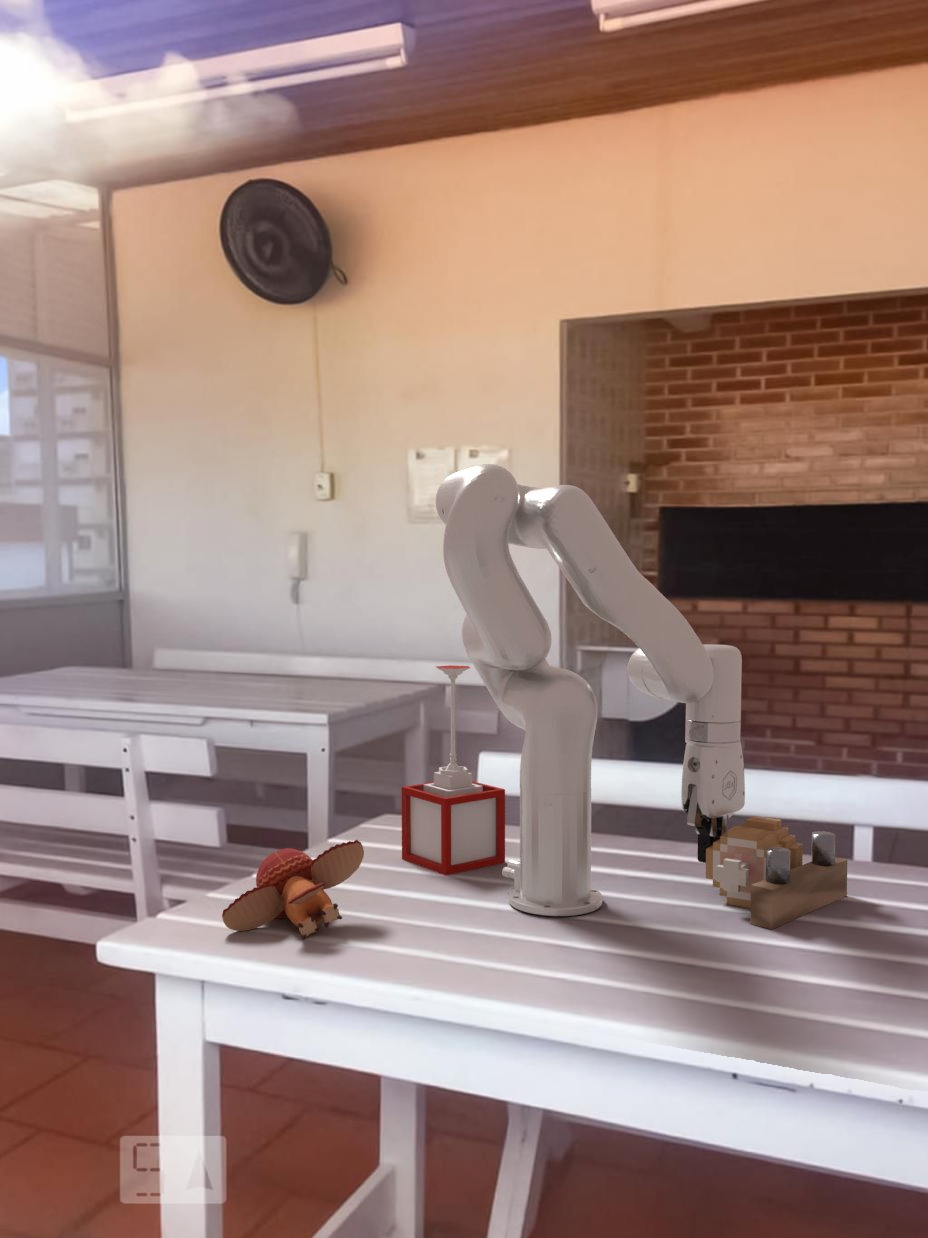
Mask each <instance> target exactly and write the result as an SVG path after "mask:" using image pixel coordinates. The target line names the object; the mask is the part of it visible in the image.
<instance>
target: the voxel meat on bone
mask: <svg viewBox="0 0 928 1238" xmlns="http://www.w3.org/2000/svg"><path fill="white" fill-rule="evenodd" d="M721 835H722V836H720V839H719V840H717V841H715V842H714V843H713V845H712V846H711V847H709V848H707V849H706V863H705V879H709V880H712V887H713V888H719V895H720V896H721V897H722V896H723V897H726V904H727V905H731V906H737V907H743V908H748V909H751V885H752V884H755V883H757V882H760V881H762V880H765V879H766V848H769V847H782V848H787V849H789V850H790V870H791V869H793V868H796V867H799V866H801V865H803V858H804V857H803V853H804V851H803V849H804V847H803V845H804V844H803V843H798V842H796V835H792V834H789V827H784V826H782V819H777V818H772V817H771V818H770V817H766V816H765V817H763V816H755V815H753V816H750V817H749V818H747V819H745V822H744V823H742V824H740V825H735V826H733V827H731V828H729V829H727V832H725V834H724V835H723V834H721Z"/></svg>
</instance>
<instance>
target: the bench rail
mask: <svg viewBox="0 0 928 1238" xmlns="http://www.w3.org/2000/svg"><path fill="white" fill-rule="evenodd" d="M847 896H848V859H846V858H841V857H837V856H836V833H834V832H831V831H825V830H824V831H823V830H818V831H812V832H811V861H809V862H806V863H804V864H802V865H801V866H799V867H796V868H793V869H791V870H790V850H789V849H787V848H782V847H769V848H766V879H765V880H762V881H760V882H757V883H755V884H752V885H751V908H750V921H749V922H750V925H753V926H757V927H761V928H764V929H768V930H774V929H776V928H779V927H780V926H783V925H785V924H787V923H789V922H792V921H794V920H796V919H798V918H801V917H803V916H805V915H807V914H810V913H812V912H813V911H816V910H819V909H821V908H822V907H824V906H825V907H826V906H827V905H829V904H832V903H834V902H836V901H838V900H840V899H842V898H844V897H847Z"/></svg>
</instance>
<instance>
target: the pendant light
mask: <svg viewBox="0 0 928 1238" xmlns="http://www.w3.org/2000/svg"><path fill="white" fill-rule="evenodd" d="M435 668H436V669H437V670H440V671H442V672H443V674H444V675H446V676H448V679H450V753H449V756H450V757H449V762H450V763H448V764H447V766H441V767H438V771H435V772H433V781H432V782H425V783H418V784H411V785H405V786H401V860H404V861H406V862H408V863H412V864H414V865H416V866H420V867H422V868H424V869H427V870H429V871H431V872H435V873H438V874H440V875H444V876H450V875H454V874H458V873H462V872H467V871H472V870H476V869H477V870H479V869H481V868H487V867H490V866H496V865H501V864H504V863H506V789H505V788H501V787H497V786H494V785H489V784H485V783H481V782H478V781H473V773H472V772H468V768H467V767H466V766H462V765H461V766H459V765H458V763H457V760H458V759H457V758H456V757H457V756H458V755H457V753H456V679H458V676H460V675H462V674H463V673H464V672H465V671H468V670H469V669H471V667H470V666H469V665H451V664H450V665H440V666H439V665H438V666H435Z"/></svg>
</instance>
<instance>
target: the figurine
mask: <svg viewBox="0 0 928 1238" xmlns="http://www.w3.org/2000/svg"><path fill="white" fill-rule="evenodd" d="M364 857H365V849H364V846H363V844H362V842H360V840H358V839H356V840H354V841H350V840H349V841H348V842H341V844H337V843H336V845H334V846H330V847H329V848H328V849H326V850H324V851H322V853H321V854H319V855H317V857H316V858H314V859H312V858H311V856H309V855H308V854H306V853H305V852H304V851H302V850H299V849H296V848H290V847H287V848H282V849H278V850H276V851H274V852H272V853H270V854H269V855H268V856H266V857H265V858H264V859H263V860H262V862H261V864H260V865H259V867H258V868H257V869H258V870H257V873H256V876H255V882H256V883H255V885H256V887H253V888H252V889H251V890H247V891H245V892H244V893H241V895H239V897H237V898H235V899H234V900H233V902H232V903H229V905H228V906H227V908H225V909H223V911H222V915H221V917H222V922H223V924H224V925H225V927H227V928H228V929H229V930H232V931H238V932H243V931H250V930H254V929H257V928H259V927H262V926H265V925H267V924H268V923H270V922H272V920H275V918H276V919H286V918H288V920H290V922H291V923H292V924H293V925H294V926H295V927H297V928H298V930H299V933H300V934H301V938H302V940H306V938H307V937H308V936H310V935H311V934H313V933H315V932H316V933H319V932H320V931H321V929H320V928H318V926H317V925H318V924H319V923H320V922H321V921H323V923H324V926H325V927H326V928H328V927H329V925H330V924H332V923H333V922H334V921H338V920H342V919H343V916H342V915H341V914H340V912H339V908H338V906H339V905H338V903H333V901H332V899H331V898H330V897H329V895H328V894H327V892H326V891H325V890H327V889H331V888H334V887H336V886H339V885H340V884H341V883H344V882H345V881H346V880H348V879H349V878H350V877H351V876H352V875H353V874H354V873H356V871H357V870H358V869H359V868H360V866H361V864H362V862H363V859H364Z"/></svg>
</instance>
